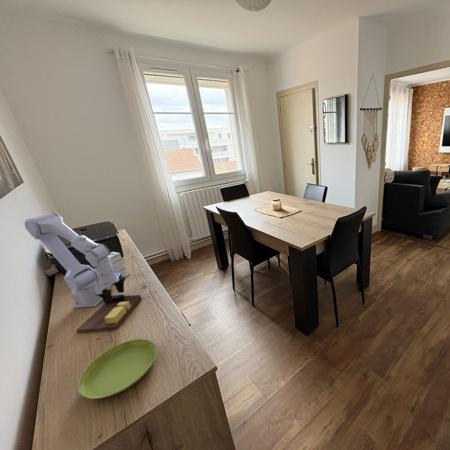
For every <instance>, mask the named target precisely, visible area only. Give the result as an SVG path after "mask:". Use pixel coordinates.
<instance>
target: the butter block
mask: <svg viewBox="0 0 450 450" xmlns="http://www.w3.org/2000/svg"><path fill="white" fill-rule="evenodd" d="M125 313H126V310H125V307H115V308H114V309H113V310H112V311H111V312H110V313H109V314H108V315H107V316H106V317H105V321H106V323H107V324H110V323H117V322H118V321H119V320H120V319H121V318H122V317H123V315H124V314H125Z"/></svg>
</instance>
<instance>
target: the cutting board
mask: <svg viewBox="0 0 450 450" xmlns="http://www.w3.org/2000/svg"><path fill="white" fill-rule="evenodd" d="M141 301H142V299H141V300H129V303H130V305H131V307H130V309H129V310H126V313H125V314H124V315H123V317H122V318H121V319H120V320H119V321H118V322H117V323H110V324H107V323H106V321H105V317H106V316H107V315H108V314H109V313H110V312H111V311H112V310H113V309H114V308H115V307H118V306H117V304H118V303H111V304H108V303H107V304H105V303H102V305H101V306H99V308H97V310H96V311H94V313H93V314H91V316H89V317H88V318H87V319H86V320H85V321H84V322H83V323H81V325H80V326H79V327H78V328H77V329H76V332H77V333H79V334H80V333H81V334H82V333H90V332H91V333H93V332H101V331H102V332H103V331H104V332H105V331H115V330H117V329H118V328H119V327H120V326H121V324H122V323H123V322H124V321H125V320H126V319H127V317H128V316H129V315H130V314H131V313H132V312H133V311H134V309H135V308H136V307H137V306H138V305H139V304H140V302H141ZM123 302H126V301H123Z"/></svg>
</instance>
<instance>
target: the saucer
mask: <svg viewBox="0 0 450 450" xmlns="http://www.w3.org/2000/svg"><path fill="white" fill-rule="evenodd" d="M156 356H157V346H156V343H154V342H153V341H152V340H150V339H147V338H146V339H145V338H137V339H131V340H128V341H124V342H121V343H119V344H117V345H115V346H113V347H111V348H109V349H108V350H106V351H104V352H103V353H101V354H100V355H99V356H98V357H96V358H95V359H94V360H93V361H92V362H91V363H90V364H89V365H88V366H87V367H86V368H85V370H84V371H83V373H82V374H81V375H80V377H79V380H78V384H77V391H78V394H80V396H82V398H86V399H90V400H91V399H92V400H101V399H107V398H110V397H113V396H116V395H119V394H121V393H123V392H125V391H127V390H128V389H130V388H131V387H133V386H134V385H135V384H137V383H138V382H139V381H140V380H141V379H142V378H144V376H145V375H146V374H147V373H148V371H149V370H150V369H151V367H152V365H153V364H154V362H155V359H156Z"/></svg>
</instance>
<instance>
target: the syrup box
mask: <svg viewBox="0 0 450 450" xmlns="http://www.w3.org/2000/svg"><path fill="white" fill-rule="evenodd" d="M108 258H109V260H110V263H111V265H112V267H113V270H114V272H115V273H117V272H122V274H123V275H122V276H121V277H123V276H124V277H125V278H127V277H128V276H129V272H128V270H127V268H126V265H125V262H124V261H123V258H122V255H121V253H120V252H116V251H110V255H109V256H108Z"/></svg>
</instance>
